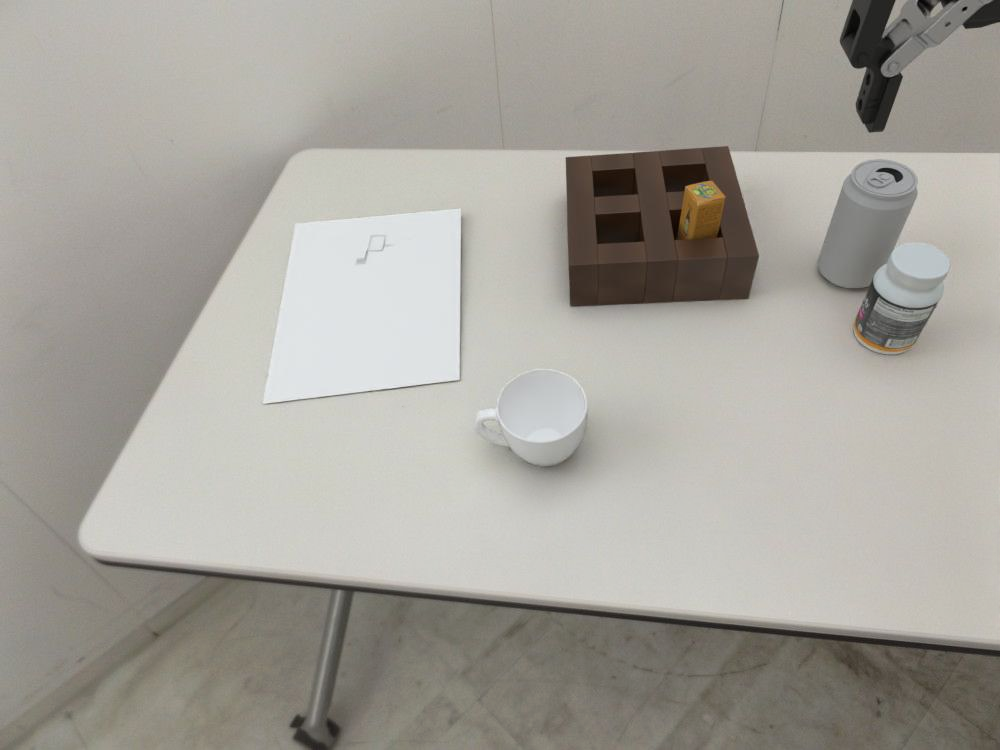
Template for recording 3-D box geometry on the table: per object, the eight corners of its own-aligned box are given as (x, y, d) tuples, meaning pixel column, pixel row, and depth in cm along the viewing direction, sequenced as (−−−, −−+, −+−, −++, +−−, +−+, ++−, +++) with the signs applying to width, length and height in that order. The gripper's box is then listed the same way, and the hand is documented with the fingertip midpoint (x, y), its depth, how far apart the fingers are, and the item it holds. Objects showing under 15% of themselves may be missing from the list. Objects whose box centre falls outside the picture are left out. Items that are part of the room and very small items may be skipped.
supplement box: (714, 272, 75) (728, 197, 67) (684, 280, 74) (694, 205, 67) (701, 253, 77) (713, 177, 69) (672, 260, 77) (680, 186, 69)
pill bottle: (862, 306, 69) (895, 229, 62) (923, 327, 67) (966, 249, 59) (843, 343, 67) (875, 267, 59) (905, 366, 64) (947, 290, 57)
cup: (591, 481, 60) (590, 440, 55) (478, 486, 61) (467, 445, 56) (585, 410, 65) (584, 365, 60) (481, 415, 66) (471, 371, 61)
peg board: (721, 189, 83) (728, 145, 79) (748, 298, 72) (759, 255, 67) (567, 198, 85) (565, 156, 81) (570, 306, 74) (568, 265, 69)
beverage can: (894, 273, 72) (938, 177, 62) (852, 302, 70) (892, 207, 61) (842, 243, 75) (877, 147, 66) (802, 269, 74) (832, 175, 64)
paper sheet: (482, 212, 85) (481, 205, 84) (457, 408, 68) (456, 402, 67) (300, 219, 88) (297, 212, 87) (233, 408, 71) (229, 402, 70)
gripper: (945, -178, 28) (838, 165, 40) (1346, -227, 26) (1104, 147, 39) (889, -224, 32) (808, 97, 45) (1226, -268, 31) (1044, 78, 43)
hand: (945, 120), depth 42 cm, fingers open, 8 cm apart
